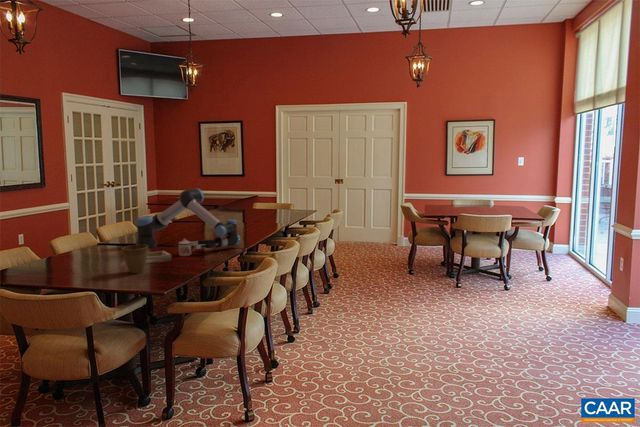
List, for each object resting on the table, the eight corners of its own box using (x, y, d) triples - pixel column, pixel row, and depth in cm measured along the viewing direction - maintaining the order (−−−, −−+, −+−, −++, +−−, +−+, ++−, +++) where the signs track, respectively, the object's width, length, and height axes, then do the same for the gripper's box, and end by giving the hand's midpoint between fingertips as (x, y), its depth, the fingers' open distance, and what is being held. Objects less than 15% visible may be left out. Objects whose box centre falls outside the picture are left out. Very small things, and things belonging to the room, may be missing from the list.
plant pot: (140, 268, 316) (139, 243, 314) (153, 271, 307) (152, 246, 305) (119, 272, 305) (117, 247, 303) (131, 276, 295) (130, 250, 293)
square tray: (134, 260, 338) (134, 254, 338) (163, 256, 350) (163, 250, 349) (141, 264, 325) (141, 258, 324) (171, 260, 336) (171, 254, 335)
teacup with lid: (177, 256, 348) (177, 240, 346) (179, 253, 357) (178, 238, 355) (195, 255, 350) (194, 239, 348) (196, 253, 358) (195, 237, 357)
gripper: (227, 249, 357) (199, 253, 344) (213, 244, 377) (186, 247, 365) (227, 239, 356) (199, 243, 343) (213, 234, 376) (186, 237, 364)
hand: (192, 245), depth 354 cm, fingers open, 13 cm apart
